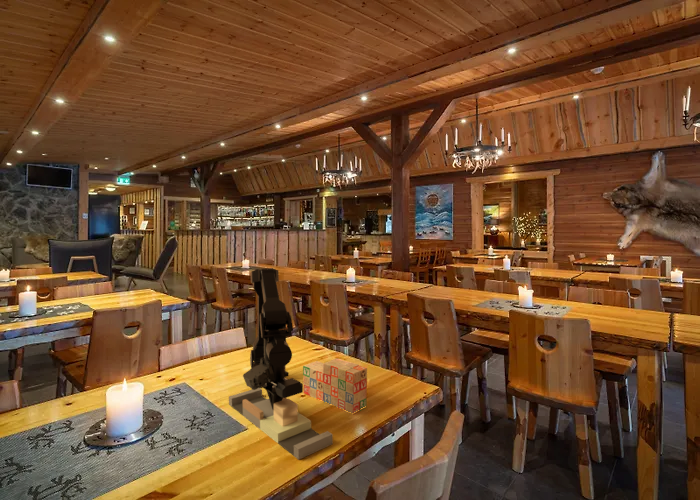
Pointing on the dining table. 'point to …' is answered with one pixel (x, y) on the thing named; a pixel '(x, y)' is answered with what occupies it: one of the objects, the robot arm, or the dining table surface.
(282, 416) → the maple block
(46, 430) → the dining table surface
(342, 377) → the stack of blocks
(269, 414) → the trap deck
